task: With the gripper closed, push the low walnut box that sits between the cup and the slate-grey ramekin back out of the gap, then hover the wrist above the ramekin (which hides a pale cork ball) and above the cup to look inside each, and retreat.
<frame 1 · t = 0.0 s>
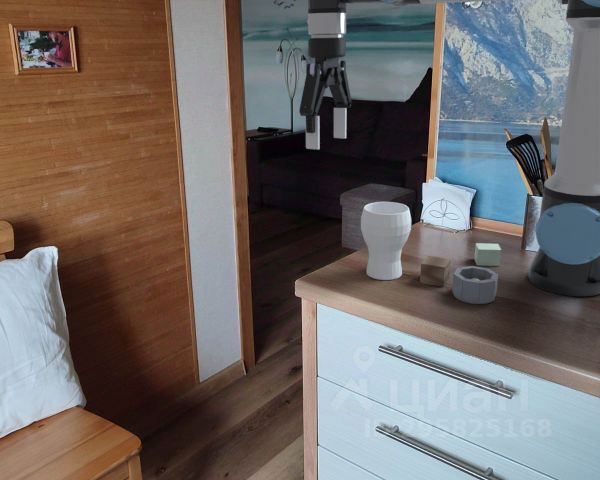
hand: (327, 143, 122), 28 cm above the counter, fingers open, 13 cm apart
walnut box: (434, 280, 123), on the counter
sage block: (486, 262, 132), on the counter
cup: (384, 274, 127), on the counter
cork ball: (474, 285, 115), point 2 cm above the counter, touching ramekin
ramekin: (473, 295, 115), on the counter
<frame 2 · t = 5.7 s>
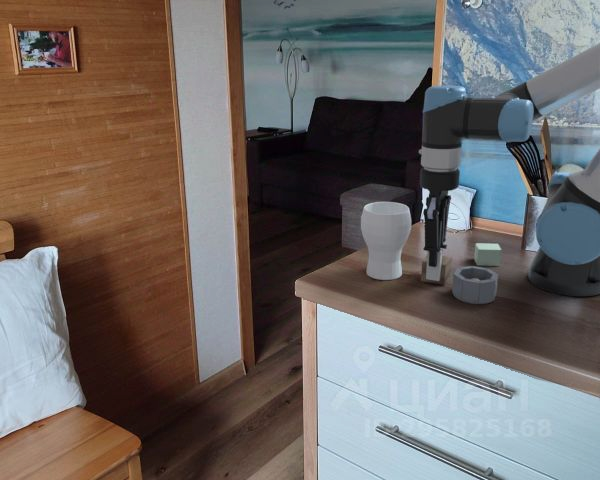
hand: (433, 278, 120), 1 cm above the counter, fingers closed
walnut box: (435, 278, 123), on the counter, touching gripper
everything else where it was.
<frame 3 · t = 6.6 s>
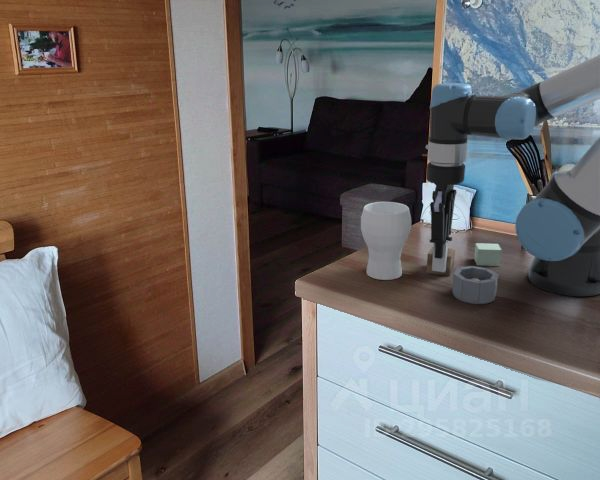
hand: (438, 270, 124), 1 cm above the counter, fingers closed
walnut box: (440, 270, 128), on the counter, touching gripper
everything else where it was.
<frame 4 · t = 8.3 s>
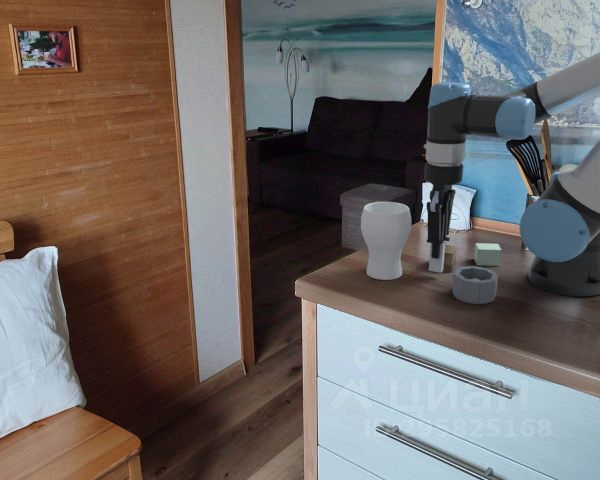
hand: (435, 270, 124), 2 cm above the counter, fingers closed
walnut box: (442, 267, 130), on the counter
everything else where it was.
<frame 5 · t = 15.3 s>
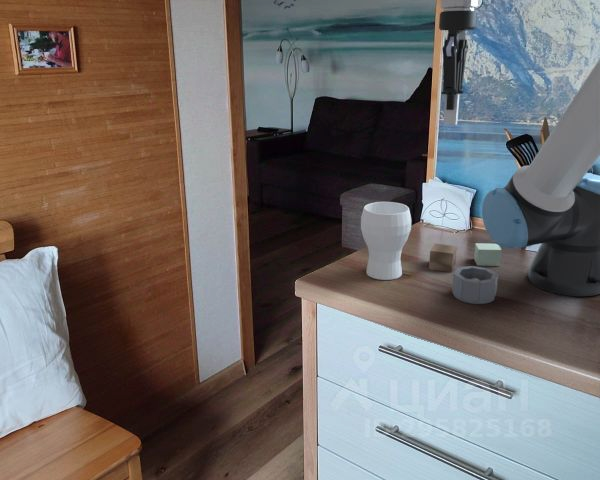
hand: (450, 124, 128), 30 cm above the counter, fingers closed
nothing on the counter moved.
at the end: walnut box inside the target area (2.5 cm from its centre), on the counter; walnut box moved 8.3 cm from its start; cup moved 0.2 cm from its start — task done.
